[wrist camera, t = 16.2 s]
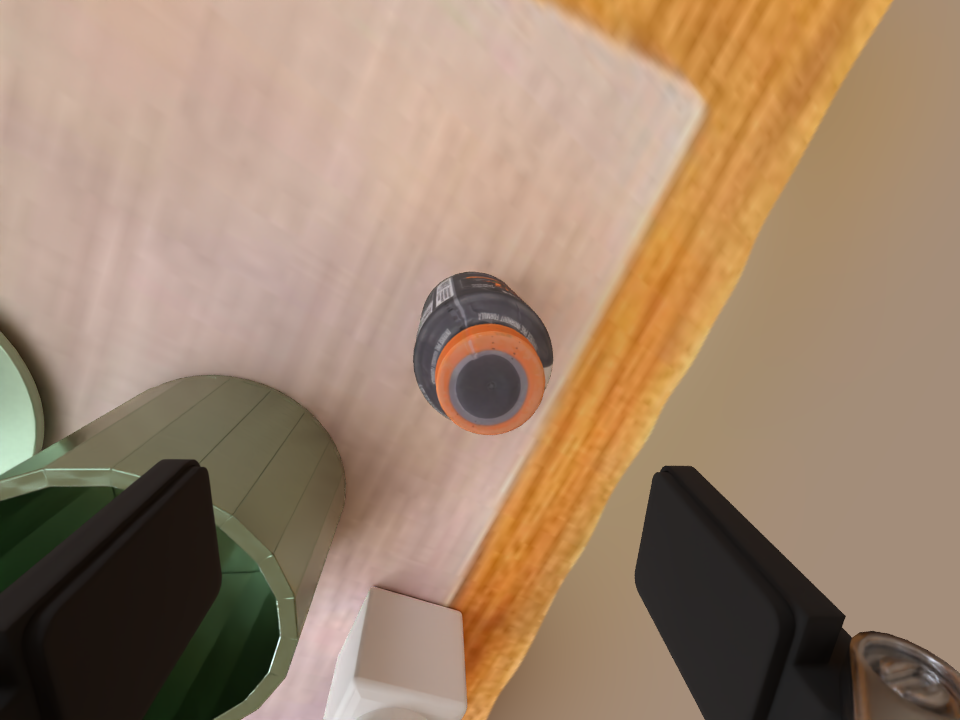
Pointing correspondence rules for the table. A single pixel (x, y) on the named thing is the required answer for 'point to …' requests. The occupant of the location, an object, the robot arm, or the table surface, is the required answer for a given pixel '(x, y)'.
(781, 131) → the table surface
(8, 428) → the lid
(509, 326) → the pill bottle
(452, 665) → the medicine bottle
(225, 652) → the tin
